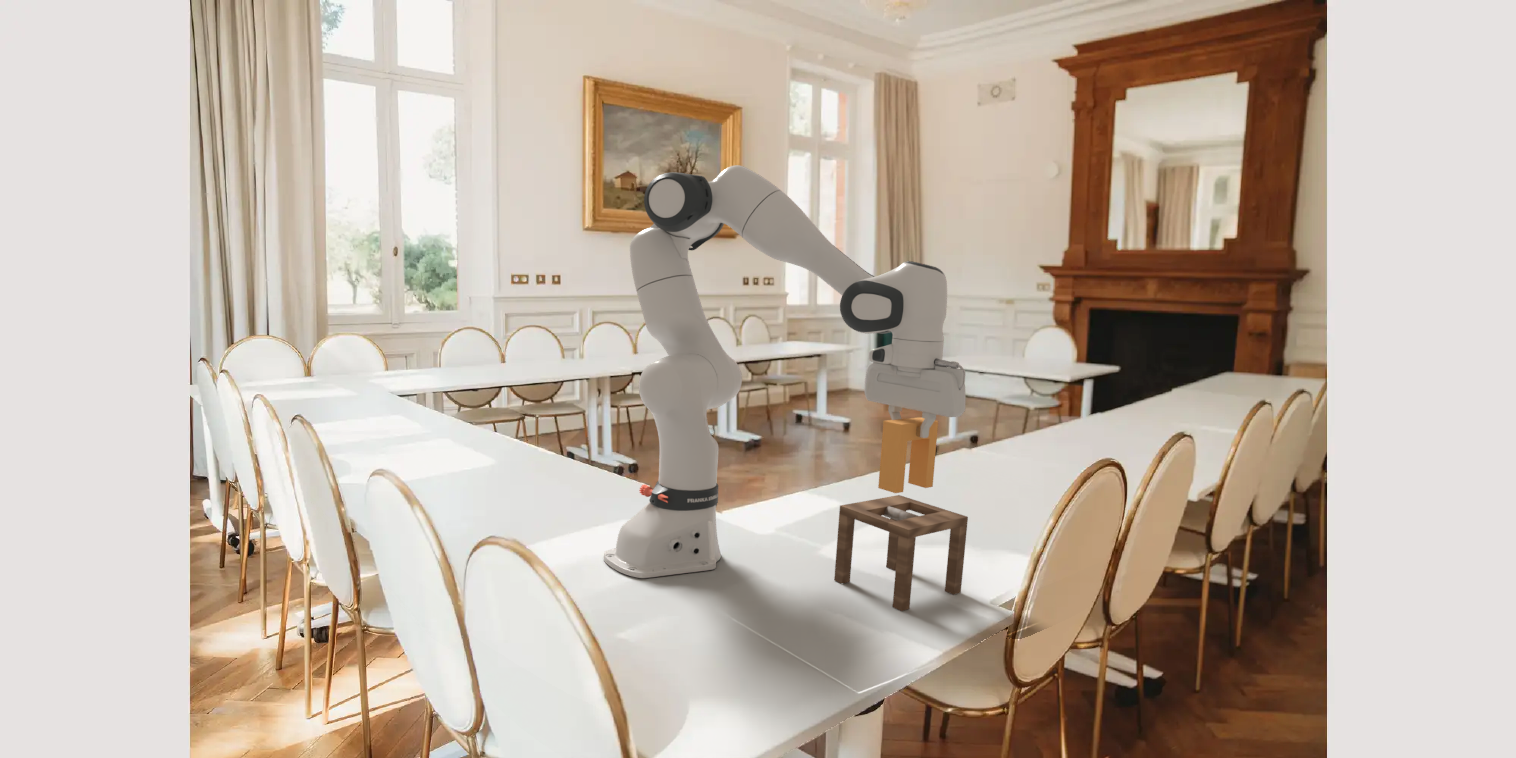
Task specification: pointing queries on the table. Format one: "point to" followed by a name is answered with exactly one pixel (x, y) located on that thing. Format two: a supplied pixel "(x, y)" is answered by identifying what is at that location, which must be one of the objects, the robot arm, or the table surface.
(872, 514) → the brown stool
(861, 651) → the table surface
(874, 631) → the table surface
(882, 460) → the orange arch brick
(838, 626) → the table surface
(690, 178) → the robot arm
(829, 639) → the table surface
